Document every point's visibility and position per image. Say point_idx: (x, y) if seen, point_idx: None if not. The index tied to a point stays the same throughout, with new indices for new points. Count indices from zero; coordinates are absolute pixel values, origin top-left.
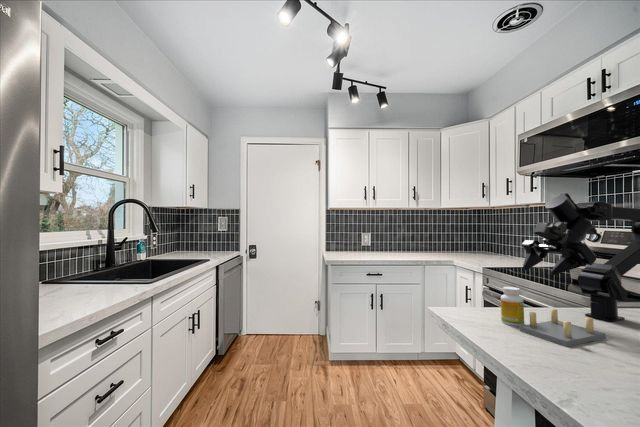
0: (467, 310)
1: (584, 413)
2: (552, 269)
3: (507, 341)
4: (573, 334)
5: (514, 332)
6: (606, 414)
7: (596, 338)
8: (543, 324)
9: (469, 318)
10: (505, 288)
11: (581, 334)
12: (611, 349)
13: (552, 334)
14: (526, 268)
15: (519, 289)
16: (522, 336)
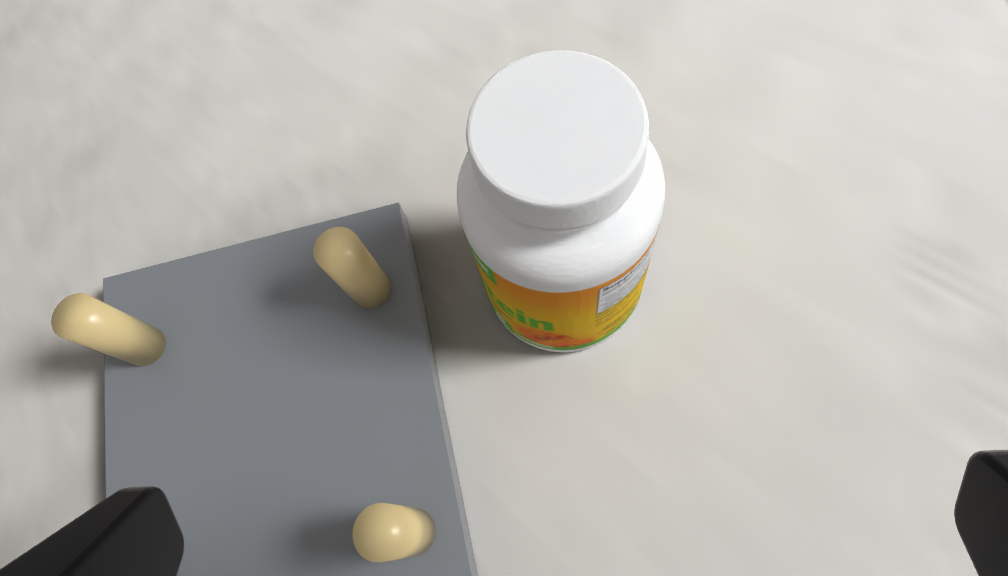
0: (940, 142)
1: None
2: (81, 537)
3: (276, 50)
4: (169, 431)
5: (387, 169)
6: None
7: None
8: (393, 399)
9: (702, 57)
10: (548, 52)
11: None
12: (7, 522)
13: (210, 289)
14: (997, 558)
15: (480, 173)
16: (318, 169)
